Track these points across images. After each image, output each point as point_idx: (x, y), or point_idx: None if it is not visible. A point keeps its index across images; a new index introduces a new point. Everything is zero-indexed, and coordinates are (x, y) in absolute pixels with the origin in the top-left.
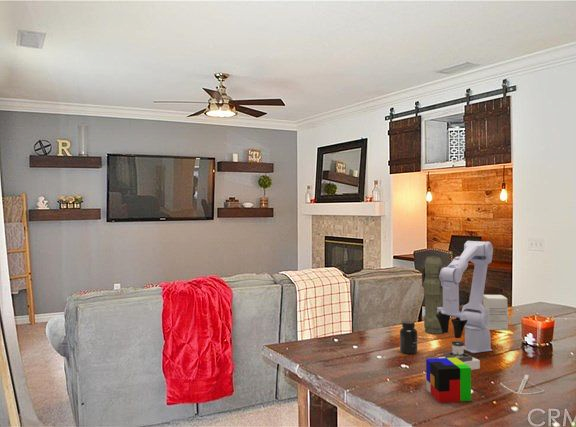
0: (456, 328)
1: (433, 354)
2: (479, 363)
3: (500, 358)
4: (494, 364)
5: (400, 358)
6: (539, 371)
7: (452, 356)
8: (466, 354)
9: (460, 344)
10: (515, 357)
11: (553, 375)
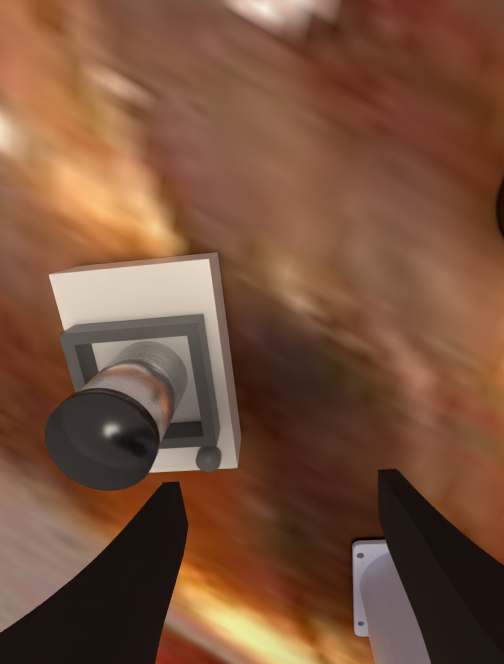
0: (80, 576)
1: (430, 341)
2: None
3: (244, 598)
4: None
5: (454, 42)
6: None
7: (110, 333)
8: None
9: (47, 437)
10: (240, 650)
11: None
